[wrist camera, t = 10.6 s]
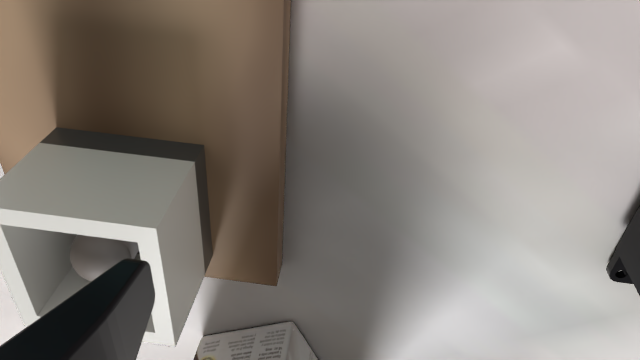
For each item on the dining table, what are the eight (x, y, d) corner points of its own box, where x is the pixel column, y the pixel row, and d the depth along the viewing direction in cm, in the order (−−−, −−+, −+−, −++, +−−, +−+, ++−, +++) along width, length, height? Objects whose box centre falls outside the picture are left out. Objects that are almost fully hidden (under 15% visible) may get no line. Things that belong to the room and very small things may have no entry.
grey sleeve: (204, 144, 20) (156, 228, 16) (212, 255, 23) (175, 346, 19) (56, 127, 20) (-28, 204, 16) (86, 238, 24) (24, 325, 20)
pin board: (303, -378, 12) (244, -508, 7) (281, 263, 25) (255, 371, 20) (-160, -407, 13) (-500, -547, 8) (50, 233, 26) (-31, 330, 21)
